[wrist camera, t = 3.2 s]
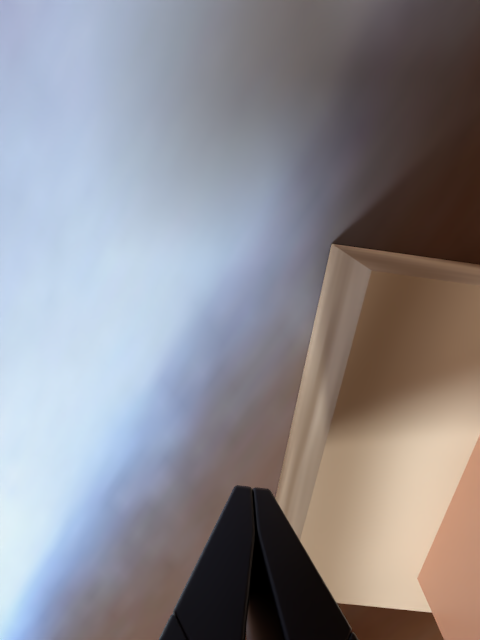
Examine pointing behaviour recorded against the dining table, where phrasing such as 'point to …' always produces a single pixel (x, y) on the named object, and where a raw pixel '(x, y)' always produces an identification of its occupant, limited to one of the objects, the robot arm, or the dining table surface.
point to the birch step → (383, 420)
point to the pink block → (457, 560)
